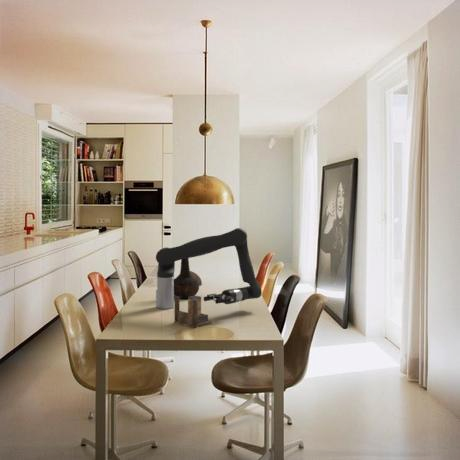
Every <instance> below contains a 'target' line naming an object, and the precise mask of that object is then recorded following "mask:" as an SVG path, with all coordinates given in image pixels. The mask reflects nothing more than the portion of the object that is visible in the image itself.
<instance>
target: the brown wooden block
mask: <svg viewBox="0 0 460 460" xmlns="http://www.w3.org/2000/svg"><path fill="white" fill-rule="evenodd" d="M193 300H198V316H201V313H202V296H201V295H200V296H199V295H195V296H191V297H188V298H187V313H191V314H193Z"/></svg>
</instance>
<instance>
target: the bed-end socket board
mask: <svg viewBox="0 0 460 460" xmlns="http://www.w3.org/2000/svg"><path fill="white" fill-rule="evenodd" d="M173 323H174V324H177V325H181V326H185V327H188V328H192V329H198V328H199V327H203V326H208V325H212V323H213V322H212V321H210V320H209V314H206V313H202V312H201V316H198V300H193V314H191V313H188V311H182V310H180V298H179V296H175V295H174V321H173Z"/></svg>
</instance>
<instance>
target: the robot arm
mask: <svg viewBox="0 0 460 460" xmlns="http://www.w3.org/2000/svg"><path fill="white" fill-rule="evenodd" d="M229 247H234V248H235V250H236V254H237V257H238V263H239V264H238V265H239V270H240V274H241V279H242V281H243V283H247V284H248V285H249V286H248V285H247V286H243V287H238V288H230V289H229V288H228V289H225V290H223V291H222V292H221V293H218V294H217V293H210V294H206V296H204V297H203V301H204V302H207V301H213V302H215V304H218V305H219V304H225V305H231V304H236V303H239V302H244V301H246V300H252V299H259V298H260V297H261V296H262V295H263V294H262V291H263V290H262V287H261V285H260V283H259V281H258V280H257V278H256V274H255V272H254V267H253V264H252V260H251V257H250V252H249V247H248V234H247V231H246V230H245V229H244V228H241V227H236V228H234V229H233V230H230V231H228V232H225V233H221V234H218V235H210V236H205V237H201V238H196V239H194V240H191V241H188V242H186V243H183V244H181V245H179V246H178V245H177V246H175V247H163V248H161V249H159V250H158V251H157V252H156V254H155V255H156V256H155V260H156V262H157V264H158V265H157V272H156V278H157V279H156V287H157V288H156V290H155V307H156V308H158V309H160V310H163V309H164V310H167V309H174V308H175V295H174V279H175V269H176V268H175V264H176V263H175V262H179V261H181V259H185V258H188V259H191V258H196V257H200V256H204V255H207V254H211V253H214V252H216V251H219V250H221V249H224V248H229Z"/></svg>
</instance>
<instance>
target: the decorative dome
mask: <svg viewBox="0 0 460 460" xmlns="http://www.w3.org/2000/svg"><path fill="white" fill-rule="evenodd" d="M190 274H191V276H192V277H193V278H194V279H196V280H197V281H198V283H199V287H200V286H202V283H203V282H202V279H201V277H200V276H199V274H197V273H196V272H194V271H191V270H190ZM179 275H180V273H179ZM179 275H177V276H176V277H175V278H177V277H179Z"/></svg>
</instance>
